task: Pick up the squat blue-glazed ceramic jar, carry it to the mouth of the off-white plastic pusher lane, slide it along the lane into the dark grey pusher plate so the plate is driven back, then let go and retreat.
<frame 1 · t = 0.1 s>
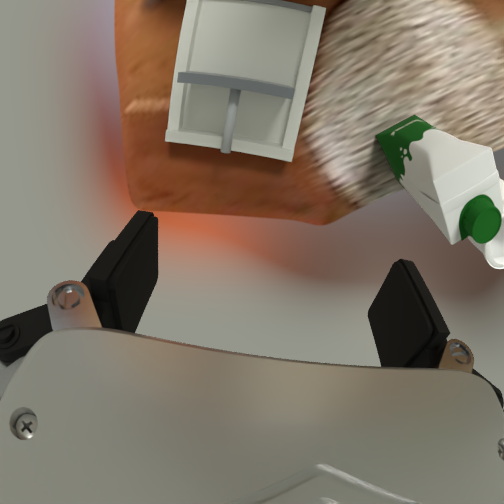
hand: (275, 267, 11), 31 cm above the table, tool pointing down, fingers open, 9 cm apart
jar: (460, 187, 39), on the table
lane: (243, 66, 33), on the table
pusher: (232, 114, 33), point 4 cm above the table, slide at 0.0 cm
milk carton: (404, 145, 37), on the table
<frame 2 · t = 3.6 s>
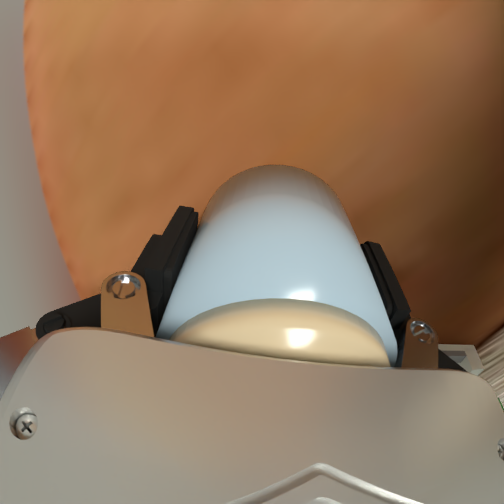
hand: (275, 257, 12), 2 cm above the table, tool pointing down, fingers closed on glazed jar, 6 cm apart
lane: (334, 411, 23), on the table
glazed jar: (275, 234, 13), on the table, touching gripper
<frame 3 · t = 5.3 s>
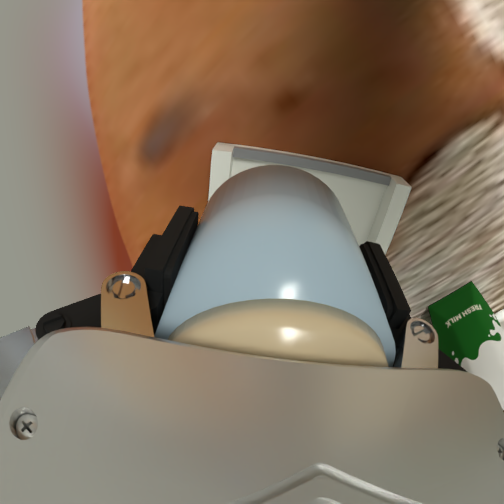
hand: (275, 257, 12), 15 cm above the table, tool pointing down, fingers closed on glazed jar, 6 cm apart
lane: (292, 253, 30), on the table
glazed jar: (274, 234, 13), point 13 cm above the table, touching gripper
milk carton: (453, 307, 33), on the table
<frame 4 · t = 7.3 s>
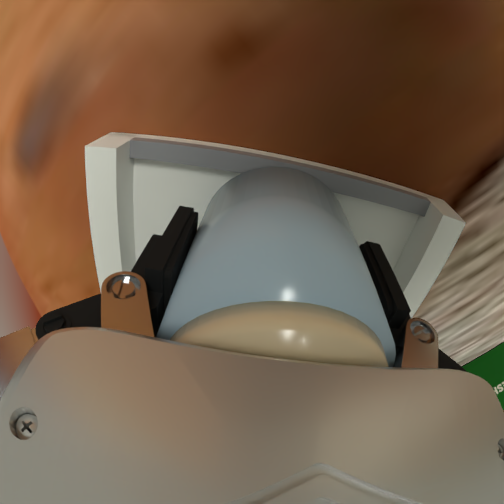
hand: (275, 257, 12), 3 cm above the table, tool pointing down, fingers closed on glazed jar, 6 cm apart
lane: (249, 318, 18), on the table
glazed jar: (274, 236, 13), point 1 cm above the table, touching gripper
milk carton: (474, 371, 22), on the table
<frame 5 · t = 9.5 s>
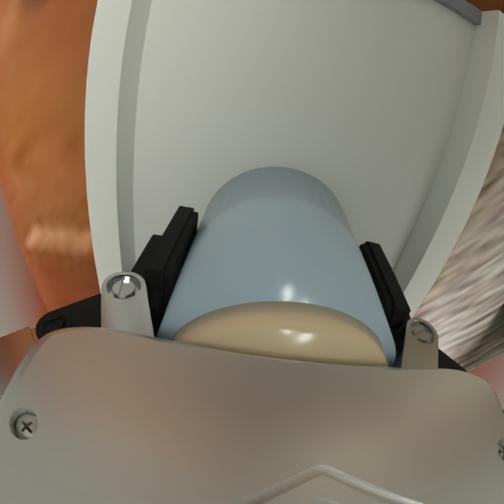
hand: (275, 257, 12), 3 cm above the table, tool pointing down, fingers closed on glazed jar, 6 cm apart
lane: (289, 156, 13), on the table
glazed jar: (274, 236, 13), point 1 cm above the table, touching gripper, pusher
when the fingers open (3 cm above the table, at t = 10.9 s): glazed jar stays where it is, resting on lane.
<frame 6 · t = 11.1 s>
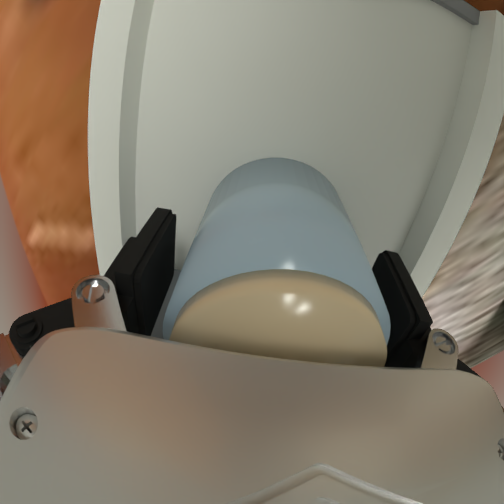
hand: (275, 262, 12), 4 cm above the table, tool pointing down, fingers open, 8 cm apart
lane: (289, 154, 13), on the table
glazed jar: (275, 224, 14), point 1 cm above the table, touching lane
pusher: (241, 384, 15), point 4 cm above the table, slide at 5.1 cm
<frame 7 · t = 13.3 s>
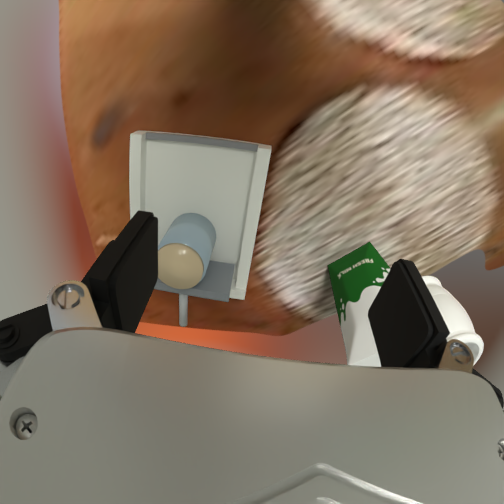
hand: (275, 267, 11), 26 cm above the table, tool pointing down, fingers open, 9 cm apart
jar: (419, 294, 44), on the table
lane: (195, 210, 39), on the table
glazed jar: (192, 234, 40), point 1 cm above the table, touching lane
pusher: (184, 297, 41), point 4 cm above the table, slide at 5.1 cm
milk carton: (358, 269, 42), on the table
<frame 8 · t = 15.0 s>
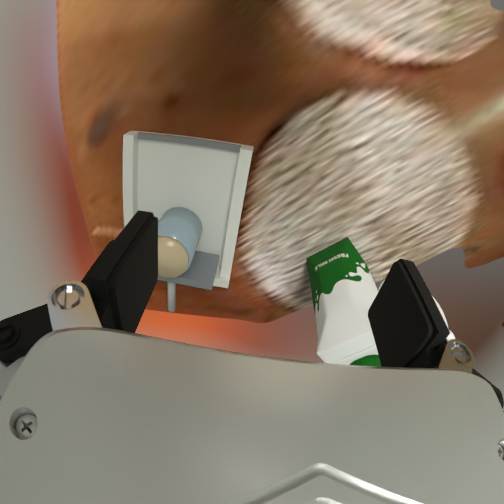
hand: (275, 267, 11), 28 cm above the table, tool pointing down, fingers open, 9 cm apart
lane: (183, 205, 41), on the table
glazed jar: (180, 226, 43), point 1 cm above the table, touching lane
pusher: (172, 284, 44), point 4 cm above the table, slide at 5.1 cm
milk carton: (336, 262, 46), on the table
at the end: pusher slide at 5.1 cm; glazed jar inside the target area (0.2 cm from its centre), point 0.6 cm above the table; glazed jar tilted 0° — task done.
